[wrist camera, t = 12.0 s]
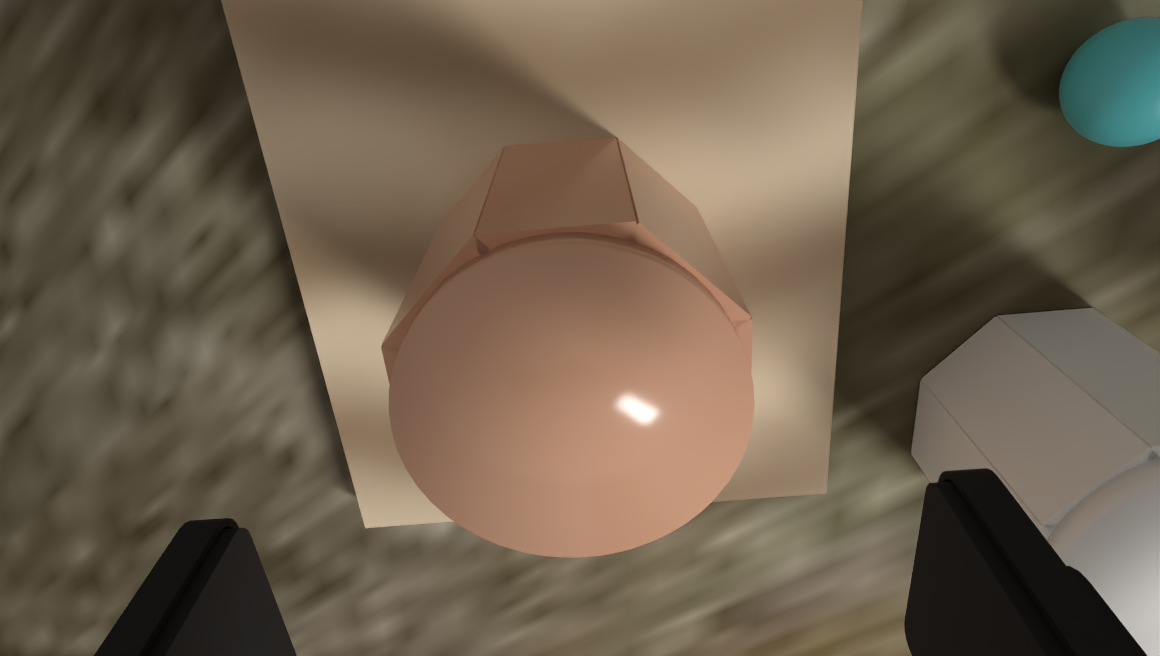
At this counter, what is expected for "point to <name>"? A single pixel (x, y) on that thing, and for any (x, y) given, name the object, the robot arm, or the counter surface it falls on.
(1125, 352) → the white domed cap nut
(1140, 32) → the marble
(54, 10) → the counter surface
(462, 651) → the counter surface
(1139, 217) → the counter surface
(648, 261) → the pink acorn nut
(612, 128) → the oak board
